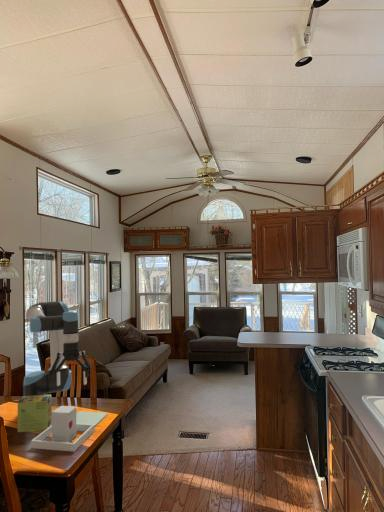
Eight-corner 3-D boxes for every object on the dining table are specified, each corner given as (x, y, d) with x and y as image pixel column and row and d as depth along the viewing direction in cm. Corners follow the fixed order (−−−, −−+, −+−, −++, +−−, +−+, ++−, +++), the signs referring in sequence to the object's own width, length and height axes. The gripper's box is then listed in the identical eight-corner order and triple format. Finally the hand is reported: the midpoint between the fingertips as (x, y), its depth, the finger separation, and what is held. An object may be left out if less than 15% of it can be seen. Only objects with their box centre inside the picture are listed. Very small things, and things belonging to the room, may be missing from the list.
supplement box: (67, 444, 187) (67, 413, 187) (51, 442, 188) (50, 411, 189) (77, 436, 195) (76, 406, 196) (61, 434, 197) (60, 405, 198)
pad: (63, 425, 208) (63, 423, 208) (78, 413, 226) (78, 411, 226) (94, 427, 205) (94, 425, 205) (107, 414, 223) (107, 413, 223)
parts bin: (31, 448, 183) (31, 440, 183) (55, 428, 205) (55, 421, 205) (74, 451, 179) (74, 444, 179) (94, 431, 201) (94, 424, 201)
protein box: (48, 430, 203) (48, 400, 203) (17, 432, 200) (17, 402, 201) (52, 422, 213) (51, 394, 214) (22, 424, 211) (22, 395, 211)
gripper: (43, 344, 193) (44, 387, 191) (93, 341, 193) (94, 385, 191) (49, 342, 201) (50, 384, 199) (97, 339, 200) (98, 381, 198)
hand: (71, 384), depth 195 cm, fingers open, 13 cm apart
